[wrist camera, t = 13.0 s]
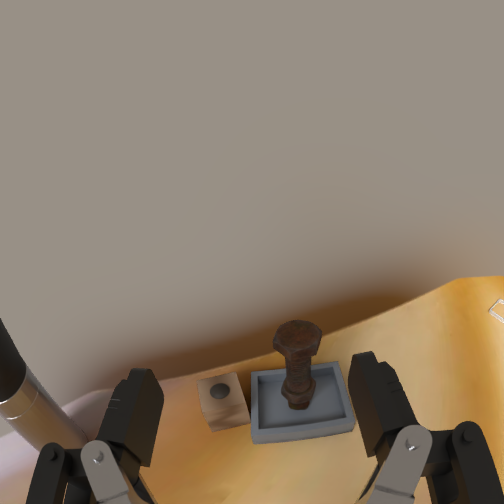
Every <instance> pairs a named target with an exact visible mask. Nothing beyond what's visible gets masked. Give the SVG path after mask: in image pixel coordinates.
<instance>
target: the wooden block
mask: <svg viewBox="0 0 504 504" xmlns="http://www.w3.org/2000/svg"><path fill="white" fill-rule="evenodd" d="M197 387H198V393H199V398H200V404H201V409H202V413H203V415H204V417H205V419H206V421H207V423H208V425H209V427H210V429H211V431H212V432H215V431H220V430H224V429H229V428H233V427H237V426H241V425H245V424H249V423H251V420H250V416H249V412H248V409H247V405H246V401H245V398H244V395H243V392H242V389H241V386H240V383H239V380H238V377H237V374H236V372H232V373H228V374H224V375H220V376H215V377H211V378H206V379H202V380H197Z"/></svg>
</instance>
